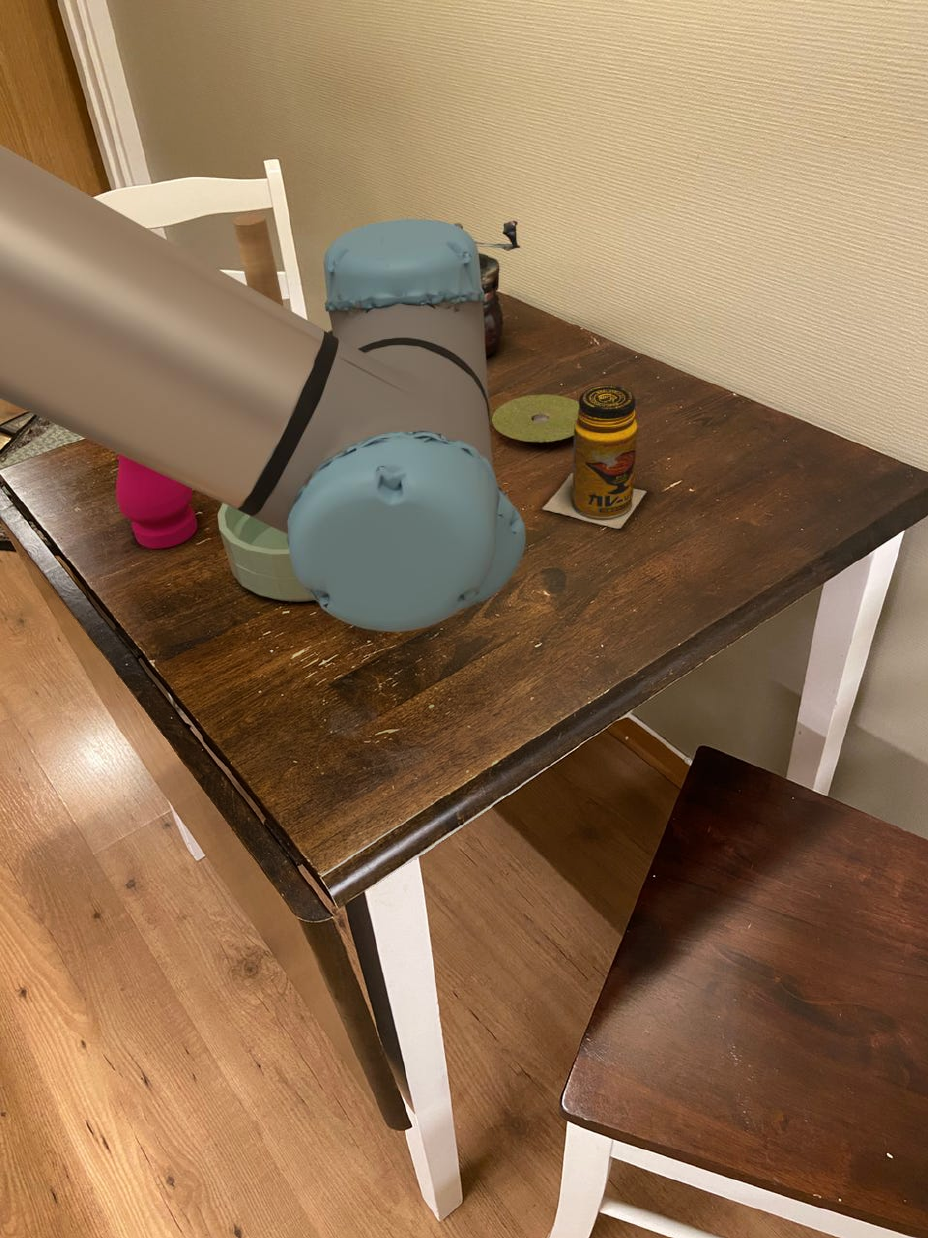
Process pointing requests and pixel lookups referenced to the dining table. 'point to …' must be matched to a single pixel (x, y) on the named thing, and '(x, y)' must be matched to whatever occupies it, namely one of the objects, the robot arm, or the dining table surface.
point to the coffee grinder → (493, 288)
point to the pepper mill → (154, 505)
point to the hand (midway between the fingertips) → (256, 328)
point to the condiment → (602, 460)
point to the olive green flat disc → (537, 418)
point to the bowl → (259, 556)
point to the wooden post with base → (258, 255)
